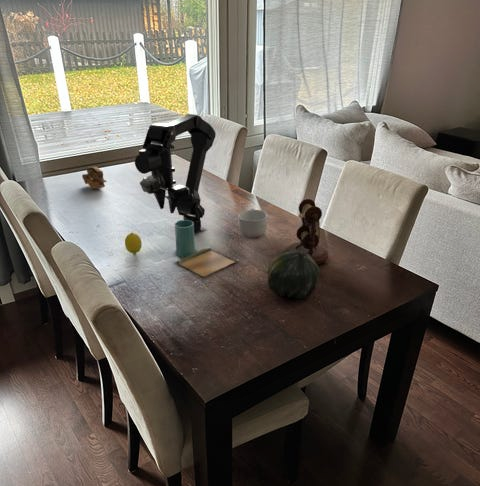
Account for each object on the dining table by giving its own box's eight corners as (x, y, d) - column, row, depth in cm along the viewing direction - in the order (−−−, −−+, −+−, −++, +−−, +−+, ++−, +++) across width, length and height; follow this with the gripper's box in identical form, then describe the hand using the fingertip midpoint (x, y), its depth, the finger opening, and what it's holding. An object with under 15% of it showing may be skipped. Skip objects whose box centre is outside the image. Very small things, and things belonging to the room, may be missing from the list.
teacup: (264, 241, 159) (265, 221, 155) (235, 238, 161) (235, 218, 157) (269, 226, 171) (270, 207, 166) (242, 224, 172) (243, 205, 168)
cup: (172, 253, 151) (170, 223, 145) (187, 247, 155) (185, 218, 149) (184, 259, 147) (182, 229, 141) (199, 252, 151) (197, 223, 145)
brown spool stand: (333, 267, 143) (341, 209, 132) (290, 270, 141) (294, 212, 130) (319, 247, 155) (325, 193, 145) (279, 250, 153) (282, 195, 142)
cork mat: (176, 263, 144) (176, 260, 144) (208, 249, 153) (207, 246, 152) (203, 277, 137) (203, 274, 136) (235, 262, 145) (235, 259, 144)
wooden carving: (80, 186, 210) (76, 165, 205) (88, 183, 213) (84, 163, 208) (103, 192, 202) (99, 171, 197) (110, 190, 205) (107, 169, 200)
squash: (267, 259, 135) (271, 240, 121) (314, 262, 135) (324, 243, 121) (265, 303, 131) (269, 289, 117) (314, 306, 131) (324, 292, 117)
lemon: (145, 251, 151) (143, 230, 147) (137, 258, 147) (134, 237, 143) (131, 249, 153) (129, 228, 149) (123, 256, 149) (120, 234, 144)
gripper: (125, 164, 142) (131, 209, 150) (160, 177, 131) (165, 225, 139) (153, 158, 148) (157, 201, 157) (189, 169, 137) (191, 215, 146)
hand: (167, 210), depth 149 cm, fingers open, 5 cm apart
